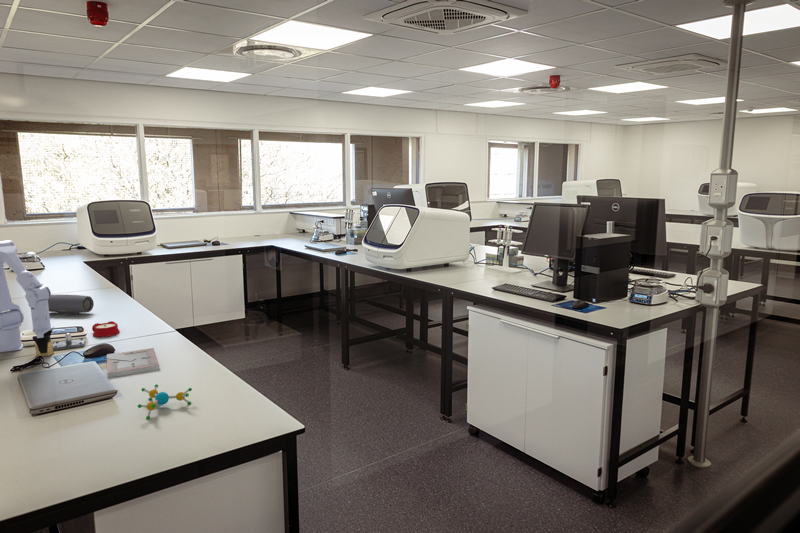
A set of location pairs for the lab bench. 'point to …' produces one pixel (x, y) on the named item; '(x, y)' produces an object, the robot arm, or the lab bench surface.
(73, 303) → the bluetooth speaker
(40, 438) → the lab bench surface
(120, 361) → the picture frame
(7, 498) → the lab bench surface
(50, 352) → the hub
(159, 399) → the molecular model
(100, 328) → the alarm clock
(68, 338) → the block
